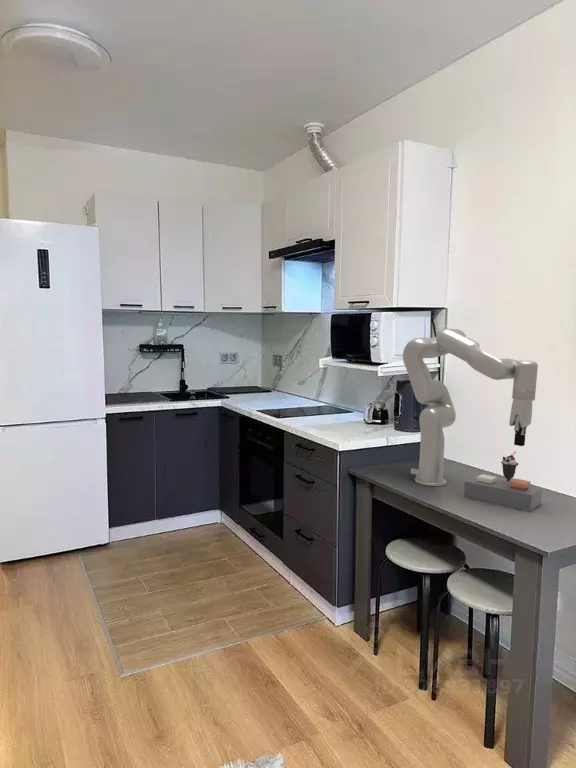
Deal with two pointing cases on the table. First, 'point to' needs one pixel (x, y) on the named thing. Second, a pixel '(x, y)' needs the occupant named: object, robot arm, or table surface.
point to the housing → (503, 494)
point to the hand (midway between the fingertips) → (519, 445)
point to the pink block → (519, 484)
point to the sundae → (509, 466)
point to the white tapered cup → (486, 478)
